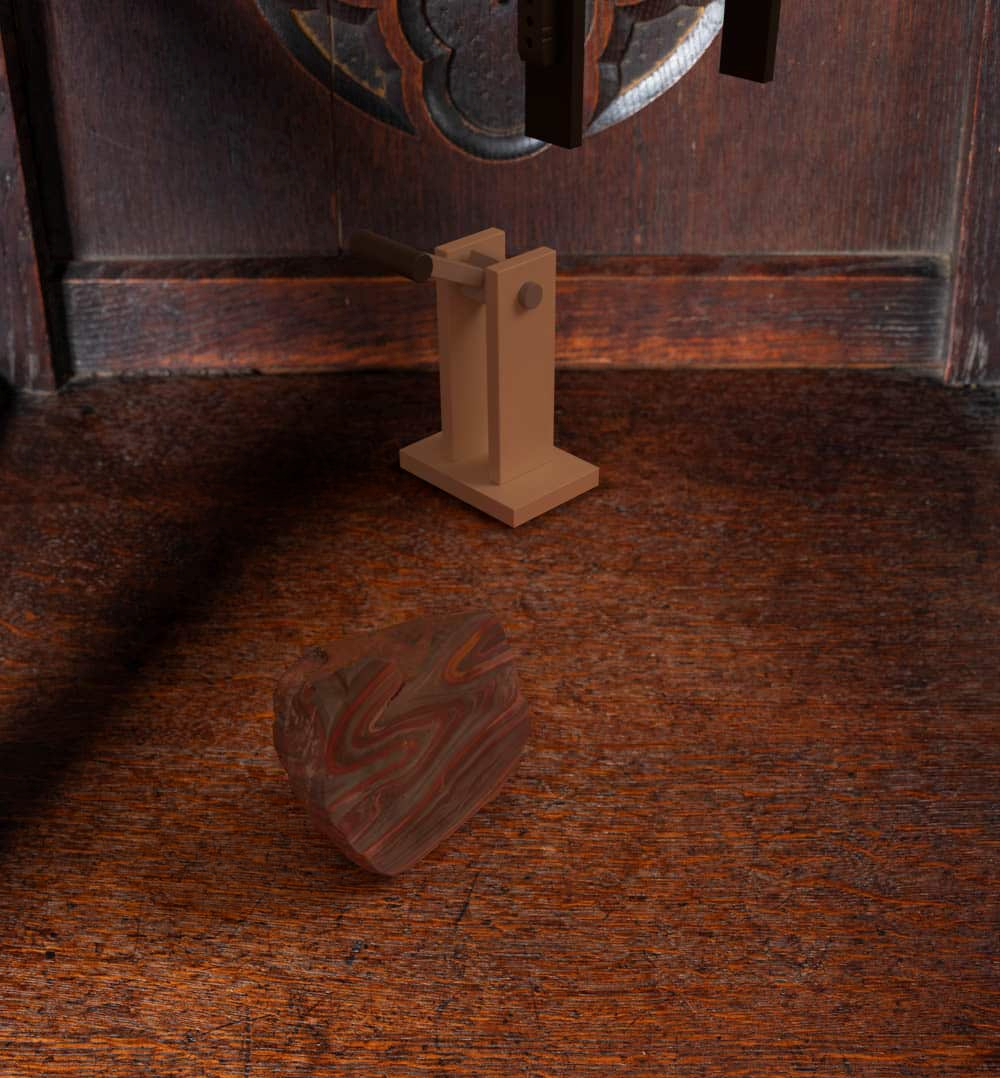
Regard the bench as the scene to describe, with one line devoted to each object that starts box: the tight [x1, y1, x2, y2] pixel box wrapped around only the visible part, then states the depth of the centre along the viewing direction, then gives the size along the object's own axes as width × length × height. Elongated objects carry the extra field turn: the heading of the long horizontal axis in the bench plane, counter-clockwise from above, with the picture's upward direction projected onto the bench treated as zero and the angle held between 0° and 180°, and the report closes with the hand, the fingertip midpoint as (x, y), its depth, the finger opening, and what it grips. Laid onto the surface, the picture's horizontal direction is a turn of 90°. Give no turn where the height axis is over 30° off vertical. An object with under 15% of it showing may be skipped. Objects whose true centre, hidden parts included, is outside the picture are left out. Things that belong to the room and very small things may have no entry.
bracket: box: [398, 226, 600, 529], centre depth 82 cm, size 7×10×14 cm
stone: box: [272, 608, 532, 877], centre depth 60 cm, size 13×8×10 cm
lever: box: [348, 228, 508, 305], centre depth 76 cm, size 10×5×2 cm, turn 135°
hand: (654, 108), depth 66 cm, fingers open, 13 cm apart
